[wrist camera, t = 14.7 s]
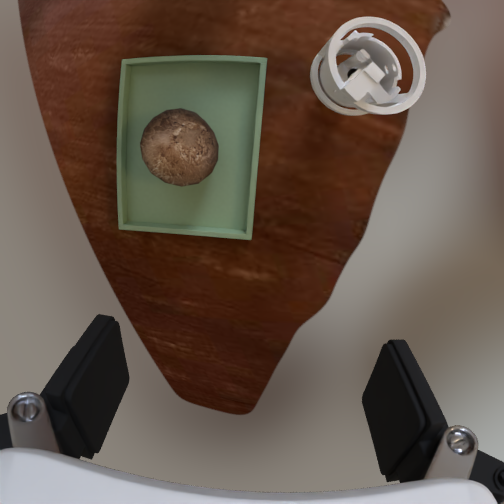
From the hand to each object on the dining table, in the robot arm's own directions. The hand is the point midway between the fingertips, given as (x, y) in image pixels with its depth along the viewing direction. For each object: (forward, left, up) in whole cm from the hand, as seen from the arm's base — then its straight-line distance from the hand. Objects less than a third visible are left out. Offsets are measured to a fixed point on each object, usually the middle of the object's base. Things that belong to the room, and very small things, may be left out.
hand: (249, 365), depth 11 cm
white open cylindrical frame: (-13, +7, -26) cm, 30 cm away
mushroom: (-5, -8, -26) cm, 28 cm away
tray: (-5, -8, -26) cm, 28 cm away
